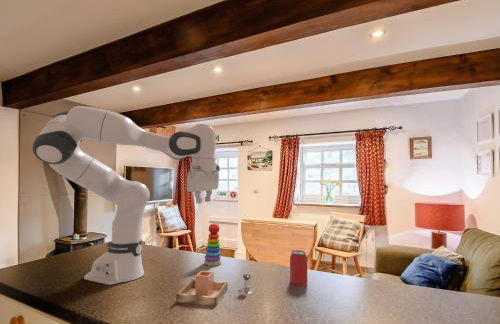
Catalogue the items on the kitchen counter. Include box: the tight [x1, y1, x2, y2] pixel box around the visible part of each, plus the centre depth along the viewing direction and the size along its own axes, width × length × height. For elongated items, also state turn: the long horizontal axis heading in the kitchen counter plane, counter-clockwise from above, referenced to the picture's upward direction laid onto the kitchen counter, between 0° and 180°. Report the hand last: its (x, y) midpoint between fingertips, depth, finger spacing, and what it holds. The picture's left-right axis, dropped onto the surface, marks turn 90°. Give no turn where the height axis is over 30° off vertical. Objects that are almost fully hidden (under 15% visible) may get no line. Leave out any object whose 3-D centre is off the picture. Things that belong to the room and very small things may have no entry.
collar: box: [195, 270, 215, 296], centre depth 90 cm, size 5×5×7 cm
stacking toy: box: [203, 222, 222, 267], centre depth 124 cm, size 8×8×19 cm
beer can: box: [289, 249, 308, 287], centre depth 101 cm, size 7×7×12 cm
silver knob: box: [237, 273, 257, 297], centre depth 93 cm, size 6×6×6 cm
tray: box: [175, 278, 229, 307], centre depth 90 cm, size 14×13×3 cm
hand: (203, 202), depth 101 cm, fingers open, 6 cm apart
